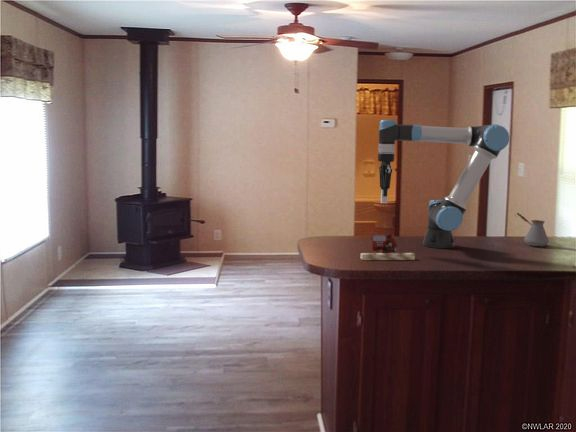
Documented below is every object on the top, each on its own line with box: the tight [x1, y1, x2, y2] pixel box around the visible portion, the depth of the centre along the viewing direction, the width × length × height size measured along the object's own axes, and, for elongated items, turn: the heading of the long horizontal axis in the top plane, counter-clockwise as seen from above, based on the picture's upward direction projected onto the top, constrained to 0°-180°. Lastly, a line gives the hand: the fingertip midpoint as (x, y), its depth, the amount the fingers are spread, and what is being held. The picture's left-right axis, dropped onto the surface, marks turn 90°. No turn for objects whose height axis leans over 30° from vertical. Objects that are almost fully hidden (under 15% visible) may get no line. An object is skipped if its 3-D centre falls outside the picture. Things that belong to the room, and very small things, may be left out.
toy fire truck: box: [370, 233, 398, 253], centre depth 268 cm, size 7×12×10 cm, turn 102°
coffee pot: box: [514, 212, 549, 247], centre depth 308 cm, size 21×12×15 cm, turn 21°
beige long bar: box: [359, 252, 416, 261], centre depth 263 cm, size 24×3×3 cm, turn 98°
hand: (383, 203), depth 282 cm, fingers closed
